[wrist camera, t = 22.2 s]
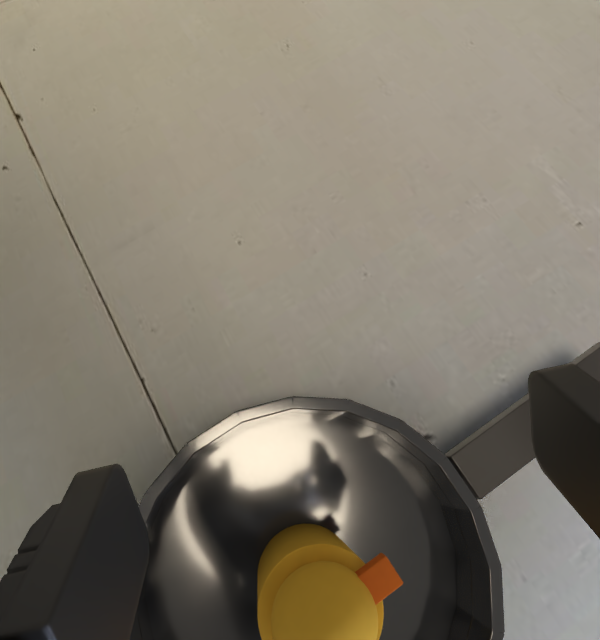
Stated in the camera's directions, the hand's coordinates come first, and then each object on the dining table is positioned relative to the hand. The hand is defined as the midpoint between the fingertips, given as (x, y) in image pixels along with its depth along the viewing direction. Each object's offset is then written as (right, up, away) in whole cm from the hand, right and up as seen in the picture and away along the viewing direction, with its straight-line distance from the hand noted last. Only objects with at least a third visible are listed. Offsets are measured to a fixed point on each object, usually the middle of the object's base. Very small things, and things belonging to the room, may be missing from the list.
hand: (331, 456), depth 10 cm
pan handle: (+12, -2, +18) cm, 21 cm away
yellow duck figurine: (0, -11, +17) cm, 20 cm away
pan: (0, -11, +18) cm, 21 cm away
